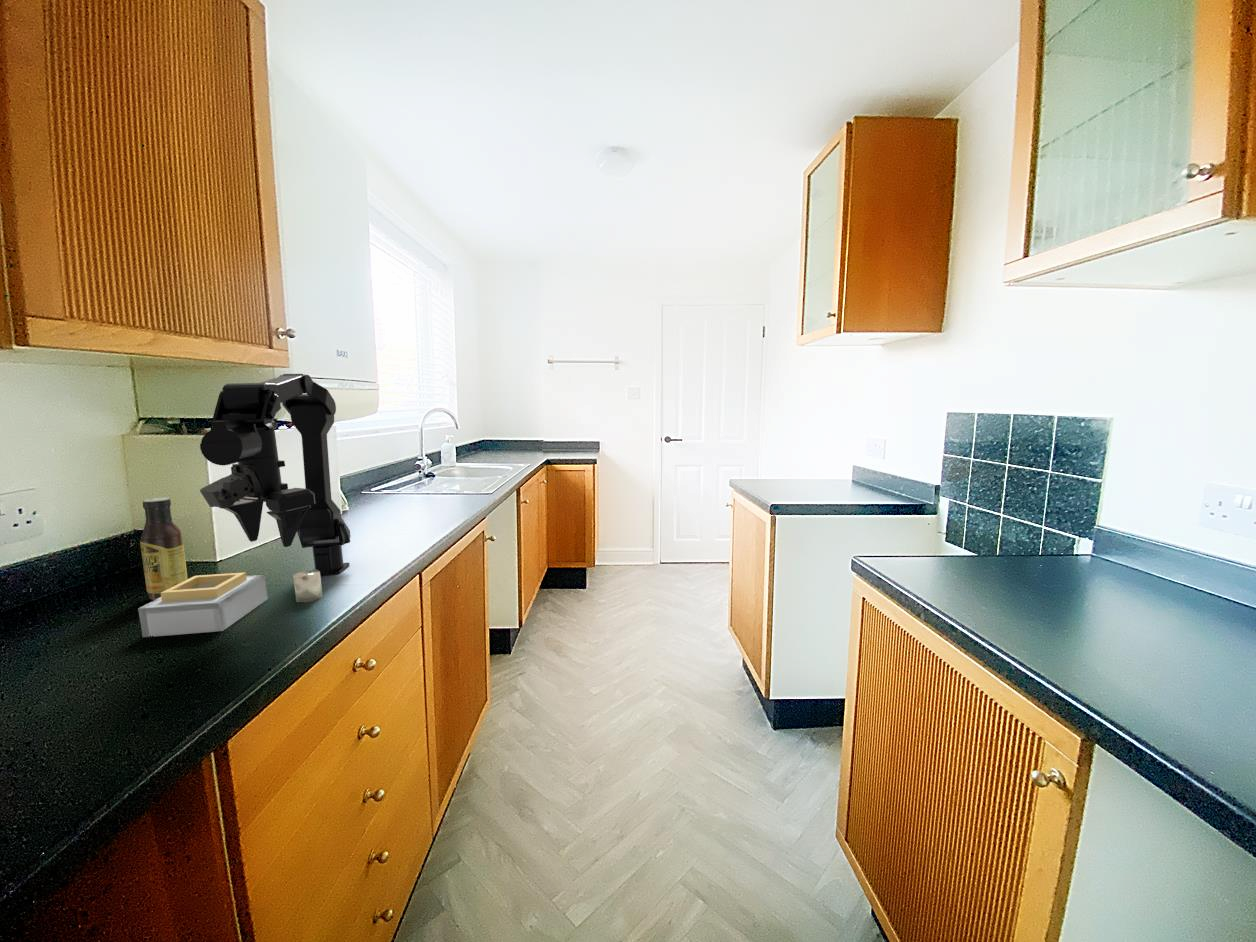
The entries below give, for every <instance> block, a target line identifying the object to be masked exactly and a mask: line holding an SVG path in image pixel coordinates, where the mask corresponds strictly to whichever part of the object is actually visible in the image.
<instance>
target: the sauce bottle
mask: <svg viewBox="0 0 1256 942" xmlns="http://www.w3.org/2000/svg"><path fill="white" fill-rule="evenodd" d="M171 505H172V501H171V498H170V497H153V498H148V499H144V500H143V501H142V507H143V509H144V515H145V524H144V526H143V527H144V528H143V530H142V534H141V536H140V541H139V543H140V550H141V560H142V565H143V573H144V579H145V588H146V592H147V593H148V598H149V600H151V601H154V600H156V599H158V598H160V597H161V592H163V591H165V590H167V589H169V588H171V587H173V586H175V585H177V584H179V583H181V582H183V581H185V580H187V579H189V578H188V570H187V562H186V554H185V547H184V543H183V537H182V531H181V528H179V527H178V525H177V524H176V523H175V522H173V516H172V512H171V511H172V509H171Z"/></svg>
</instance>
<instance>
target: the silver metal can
mask: <svg viewBox="0 0 1256 942" xmlns="http://www.w3.org/2000/svg"><path fill="white" fill-rule="evenodd" d="M292 577H293V584H294V593H295V601H296V603H299V602H305V603H310V602H315V601H317V599H318V600H319V599H322V598H323V588H322V578H321V575H320V571H319V570H313V569H309V570H303V571H299V572H296V573H295V574H293V575H292Z"/></svg>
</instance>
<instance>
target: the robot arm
mask: <svg viewBox="0 0 1256 942" xmlns="http://www.w3.org/2000/svg"><path fill="white" fill-rule="evenodd" d="M221 389H222V390H221V391H220V392H219V394H218V397H217V400H216V401H217V402H216V405H215V408H214V412H213V415H212V420H211V427H212V428H211V430H209V431H207V432H206V433H205V434H204V435H203V437H202V438H201V441H200V442H201V443H199V448H200V451H201V454H202V455H203V457H204V458H205V459H206V460H207V461H209V463H210V462H211V464H214V465H217V466H229V465H232V466H230V471H231V474H229V475H227V476H225V477H224V476H223V477H221V478H219V479H217V480H215V481H214V482H212V483H210V484H208V485H205V486H203V487H202V488H201V489H199V492H200V494H201V495H202V496H203V498H204V500H205V502H206V503H207V505H208V506H209V507H210V508H214V507H215V508H218V509H223V510H225V511H228V512H230V513H231V514H233V515H234V516H235V518H236V520H237V522H238V523H239V525H240V526H241V528H242V531H243V532H244V534H245V535H246V537H247V539H248V541H249V542H252V543H253V542H257V540H258V539H259V534H260V528H261V522H262V513H263V506H264V503H265V506H266V507H267V509H268V511H266V514H268V515H269V516H271V517H272V518H273V519H274V520H275V521H276V525H277V529H278V532H279V536H280V539H281V543H282V545H283V547H284V548H288V547H291V546H292V544H293V541H294V540H295V537H296V535H297V536H298V539H299V542H300V545H301V548H302V549H307V548H312V549H311V550H312V557H313V566H314V568H313V569H312V570H319V571H320V576H321V575H322V576H323V575H335V574H336V575H337V574H340V573H342V572H343V571H344V570H345V569H346V568H348V567H349V566H350V562H344V557H343V555H344V554H343V547H342V546H344V545H345V544H350V543H351V531H350V529H349V527H348V526H347V523H346V522H345V520H344V519H343V518H342V512H341V511H342V510H341V509H340V508H339V506H337V504H336V503H335V502H334V500H333V499H332V491H331V490H332V488H331V475H330V461H329V459H330V458H329V448H328V433H329V431H330V430H331V429H332V426H333V425H334V424H335V415H336V412H337V405H336V401H335V399H334V398H333V396H332V395H331V393H330V391H329V390H328V389H327V388H326V387H324V386H322V385H320V384H319V383H317V382H315V381H313V379H312V378H311V376H310V375H309V374H306V373H283V374H280V375H279V376H276V377H274V378H271V379H267V380H265V381H261V382H246V383H245V382H241V383H240V382H237V383H232V382H231V383H226V384H224V385H223V387H221ZM281 404H282V407H283V408H284V409H285V410H286V411H287V413H288V414H289V415H290V420H291V424H292V425H293V426H294V427H295V428H296V430H297V431H298V432H299V433H300V435H301V445H302V446H301V447H302V460H303V461H302V462H303V473H304V486H305V487H304V488H303V487H292V488H289V486H288V485H289V484H288V483H287V482H286V483H284V482H283V481H282V476H281V468H284V467H286V462H285V460H280V459H279V455H278V454H279V453H278V446H277V439H276V433H275V431H276V430H275V429H277V428H278V427H279V425H278V423H277V422H276V421H275V417H276V414H277V413H278V412H279V411H280V410H281V409H282V407H281Z"/></svg>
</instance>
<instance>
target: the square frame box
mask: <svg viewBox="0 0 1256 942" xmlns="http://www.w3.org/2000/svg"><path fill="white" fill-rule="evenodd" d="M265 576H266V575H265V574H254V575H251V574H250V575H247V572H245V571H244V572H231V573H218V574H217V573H215V574H214V573H213V574H200V575H193V576H191V577H189V578H188V579H187V580H185V581H183V582H181V583H179V584H177V585H175V586H173V587H171V588H169V589H167V590H165V591H163V592H161V597H160V598H158V599H156V600H151V601H150V602H149V603H146V604H144V605H143V606H140V607H139V608H137V611H138V616H139V622H140V629H141V634H142V635H141V636H142V638H153V637H163V636H164V637H165V636H177V635H178V636H179V635H188V634H190V635H191V634H201V633H214V632H224V631H225V630H226V629H228V628H229V627H231V626H232V625H233V624H235V623H236V622H237V621H239V620H241V619H242V618H244V617H245V616H246V615H247V614H249V613H250V612H252V611H253V610H255V609H256V608H258V607H259V606H260V605H262V604H263V603H265V602H266V601H267V600H268V599H269V598H268V592H267V591H268V590H267V583H266V577H265ZM150 636H151V637H150ZM152 636H153V637H152Z"/></svg>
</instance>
